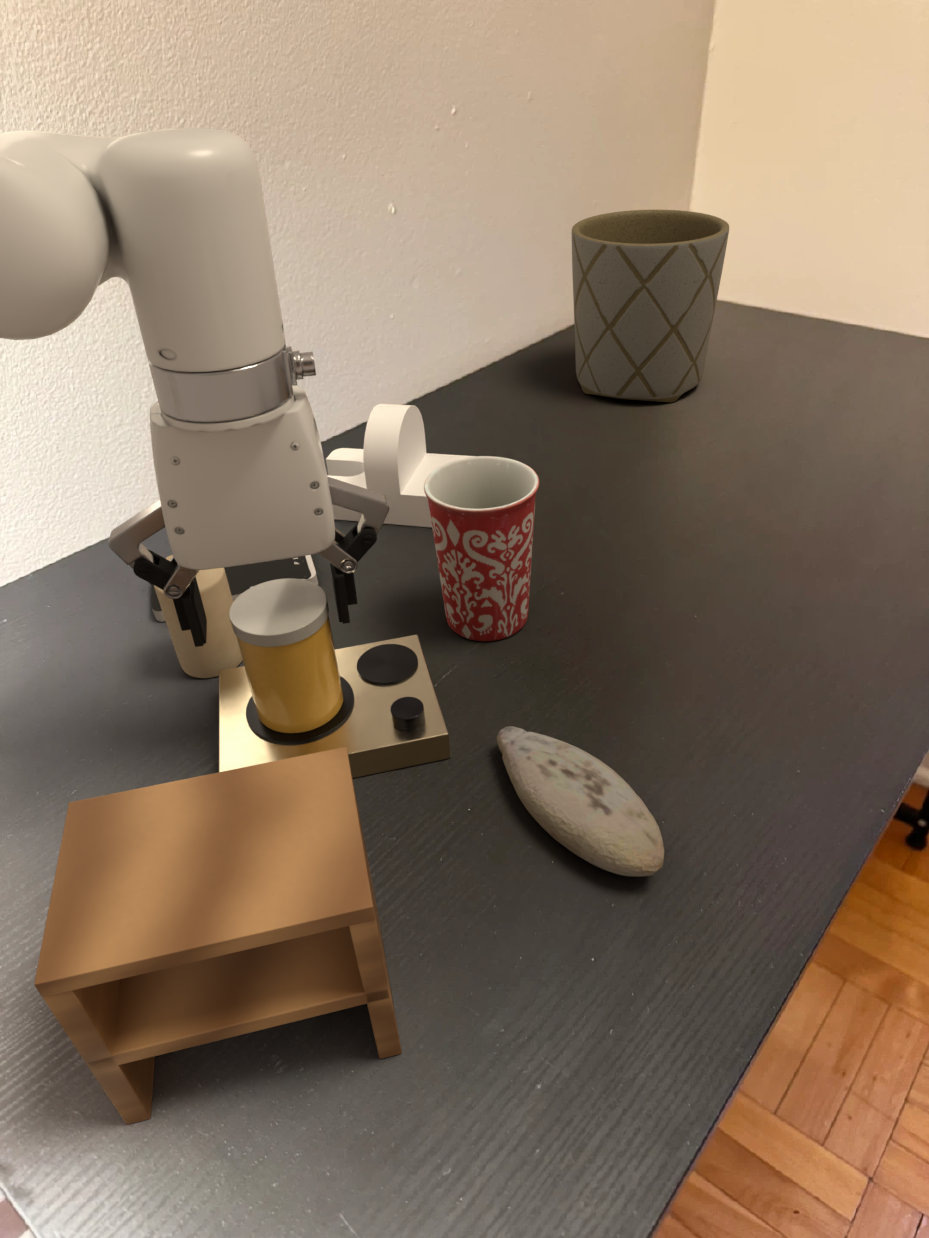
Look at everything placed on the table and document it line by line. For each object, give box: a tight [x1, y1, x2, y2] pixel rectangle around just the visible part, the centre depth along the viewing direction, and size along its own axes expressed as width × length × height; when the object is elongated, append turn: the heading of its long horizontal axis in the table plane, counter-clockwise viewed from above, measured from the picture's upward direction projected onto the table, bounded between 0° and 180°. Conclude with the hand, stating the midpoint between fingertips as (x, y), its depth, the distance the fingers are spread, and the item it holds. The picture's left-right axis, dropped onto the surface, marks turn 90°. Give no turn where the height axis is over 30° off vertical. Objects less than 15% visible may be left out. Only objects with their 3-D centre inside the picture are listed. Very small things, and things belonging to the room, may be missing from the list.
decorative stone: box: [496, 725, 665, 877], centre depth 56 cm, size 6×16×3 cm, turn 37°
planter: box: [571, 209, 730, 404], centre depth 110 cm, size 19×19×20 cm
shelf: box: [33, 747, 403, 1125], centre depth 43 cm, size 14×10×13 cm
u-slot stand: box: [325, 403, 477, 528], centre depth 89 cm, size 10×18×11 cm, turn 76°
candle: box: [154, 554, 243, 679], centre depth 69 cm, size 6×6×10 cm
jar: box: [229, 578, 343, 733], centre depth 60 cm, size 7×7×9 cm
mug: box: [424, 455, 540, 642], centre depth 72 cm, size 13×9×14 cm
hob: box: [218, 634, 451, 779], centre depth 63 cm, size 16×12×4 cm
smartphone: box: [151, 554, 319, 623], centre depth 80 cm, size 8×1×15 cm
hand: (273, 623), depth 58 cm, fingers open, 9 cm apart
